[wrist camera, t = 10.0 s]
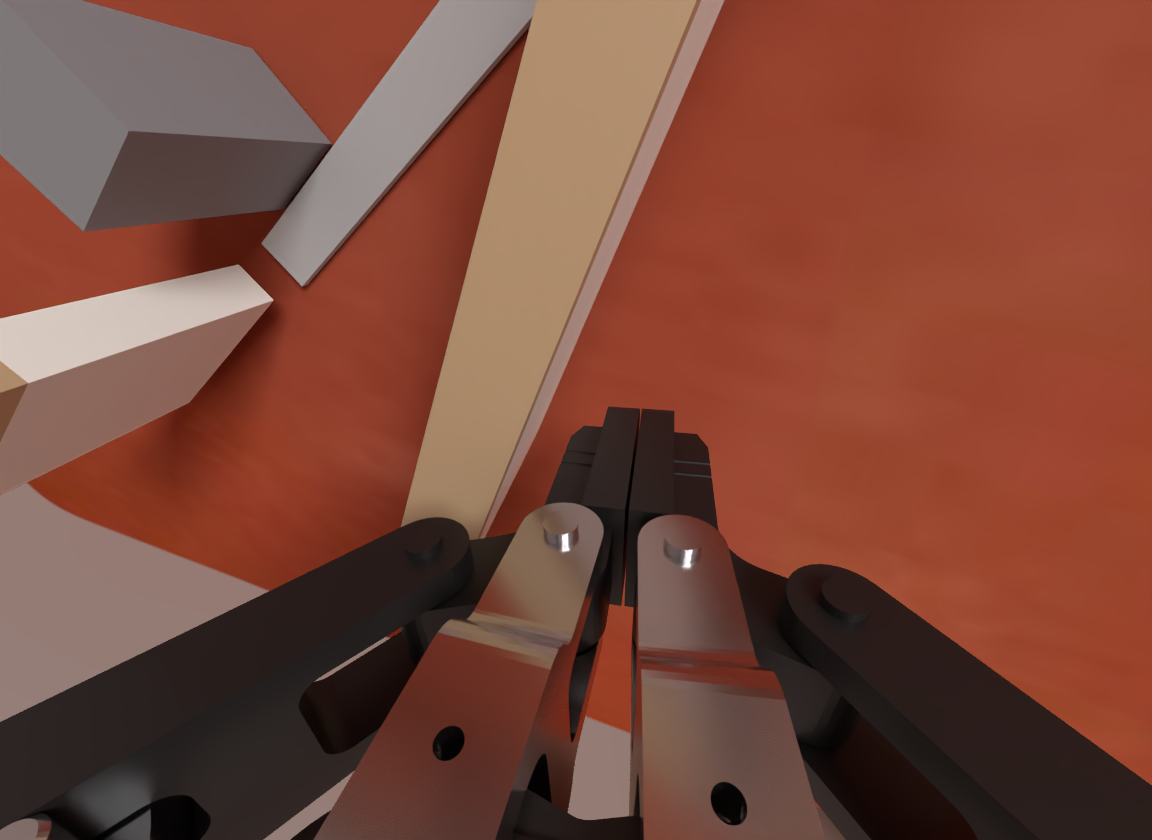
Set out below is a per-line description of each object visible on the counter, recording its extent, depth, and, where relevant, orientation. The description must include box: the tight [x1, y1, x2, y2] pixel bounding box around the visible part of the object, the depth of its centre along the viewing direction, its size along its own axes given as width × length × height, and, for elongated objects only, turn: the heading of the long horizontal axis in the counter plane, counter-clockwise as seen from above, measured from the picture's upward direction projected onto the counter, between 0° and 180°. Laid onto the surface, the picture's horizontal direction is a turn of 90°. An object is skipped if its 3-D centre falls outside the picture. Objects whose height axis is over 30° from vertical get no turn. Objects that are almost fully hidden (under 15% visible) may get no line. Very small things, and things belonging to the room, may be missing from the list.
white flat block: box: [401, 0, 724, 540], centre depth 9 cm, size 16×2×8 cm, turn 158°
